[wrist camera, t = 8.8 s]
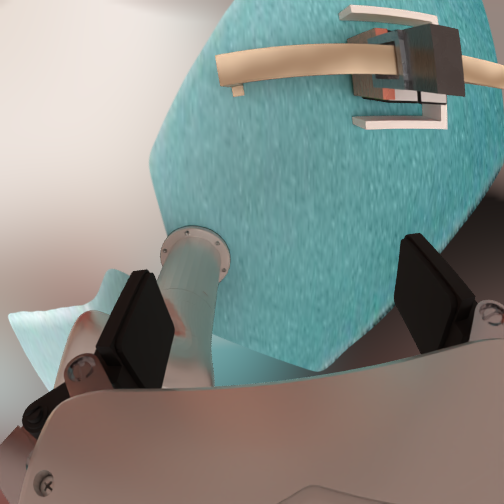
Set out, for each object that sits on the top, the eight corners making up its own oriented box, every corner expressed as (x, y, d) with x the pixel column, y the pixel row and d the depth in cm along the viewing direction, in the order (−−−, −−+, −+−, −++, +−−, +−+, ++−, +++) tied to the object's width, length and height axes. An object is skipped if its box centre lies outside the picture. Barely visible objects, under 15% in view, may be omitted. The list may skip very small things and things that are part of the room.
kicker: (371, 95, 39) (469, 114, 19) (346, 95, 40) (433, 111, 19) (364, 39, 35) (459, 14, 14) (339, 39, 35) (421, 5, 15)
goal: (428, 122, 42) (447, 129, 37) (352, 124, 43) (366, 129, 38) (418, 20, 33) (436, 16, 28) (338, 13, 34) (350, 4, 29)
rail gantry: (438, 88, 39) (515, 103, 23) (233, 96, 41) (223, 101, 25) (435, 55, 36) (512, 56, 20) (227, 59, 38) (212, 40, 22)
